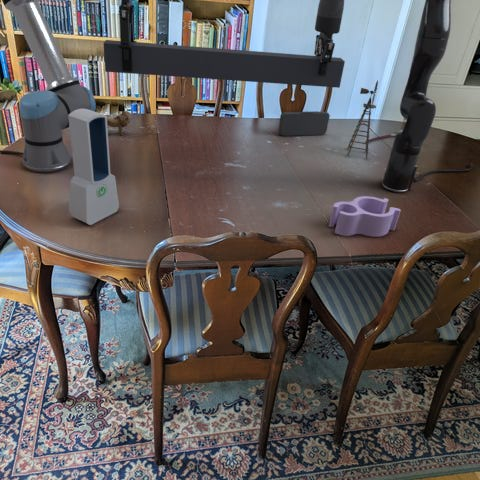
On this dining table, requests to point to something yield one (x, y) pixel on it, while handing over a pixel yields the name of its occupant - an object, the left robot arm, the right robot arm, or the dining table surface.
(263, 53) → the post
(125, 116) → the lion figurine
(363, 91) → the miniature windmill
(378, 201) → the clip
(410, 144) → the right robot arm
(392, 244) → the dining table surface
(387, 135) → the sword
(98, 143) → the electronic device
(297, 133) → the handheld gaming console
